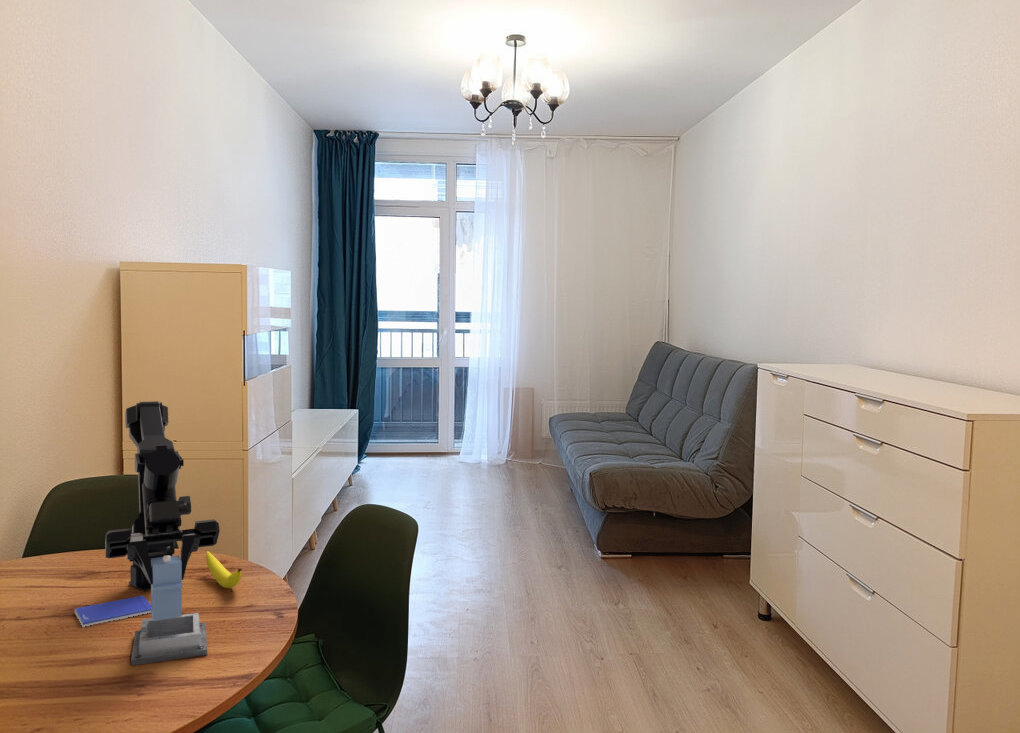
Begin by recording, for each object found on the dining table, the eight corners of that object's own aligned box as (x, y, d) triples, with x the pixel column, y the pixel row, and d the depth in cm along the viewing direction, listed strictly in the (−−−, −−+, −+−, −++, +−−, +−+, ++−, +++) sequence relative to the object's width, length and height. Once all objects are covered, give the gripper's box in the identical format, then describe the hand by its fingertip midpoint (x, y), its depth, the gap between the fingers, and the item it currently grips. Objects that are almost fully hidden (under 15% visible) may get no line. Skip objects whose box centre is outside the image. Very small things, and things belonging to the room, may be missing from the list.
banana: (213, 570, 175) (213, 543, 174) (247, 596, 160) (247, 567, 160) (200, 573, 173) (200, 546, 172) (233, 600, 158) (233, 570, 158)
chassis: (135, 636, 140) (135, 617, 140) (205, 627, 145) (205, 609, 145) (131, 665, 129) (131, 645, 129) (207, 654, 134) (207, 635, 134)
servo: (150, 610, 138) (150, 551, 137) (178, 606, 140) (178, 547, 139) (153, 623, 133) (153, 561, 132) (182, 618, 135) (182, 558, 134)
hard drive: (82, 622, 143) (153, 607, 151) (74, 607, 149) (142, 594, 157) (82, 630, 143) (153, 615, 151) (74, 615, 150) (142, 601, 157)
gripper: (105, 486, 133) (108, 568, 125) (218, 477, 142) (228, 552, 134) (103, 518, 141) (107, 597, 132) (211, 507, 150) (220, 580, 141)
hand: (167, 581), depth 135 cm, fingers closed on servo, 5 cm apart
